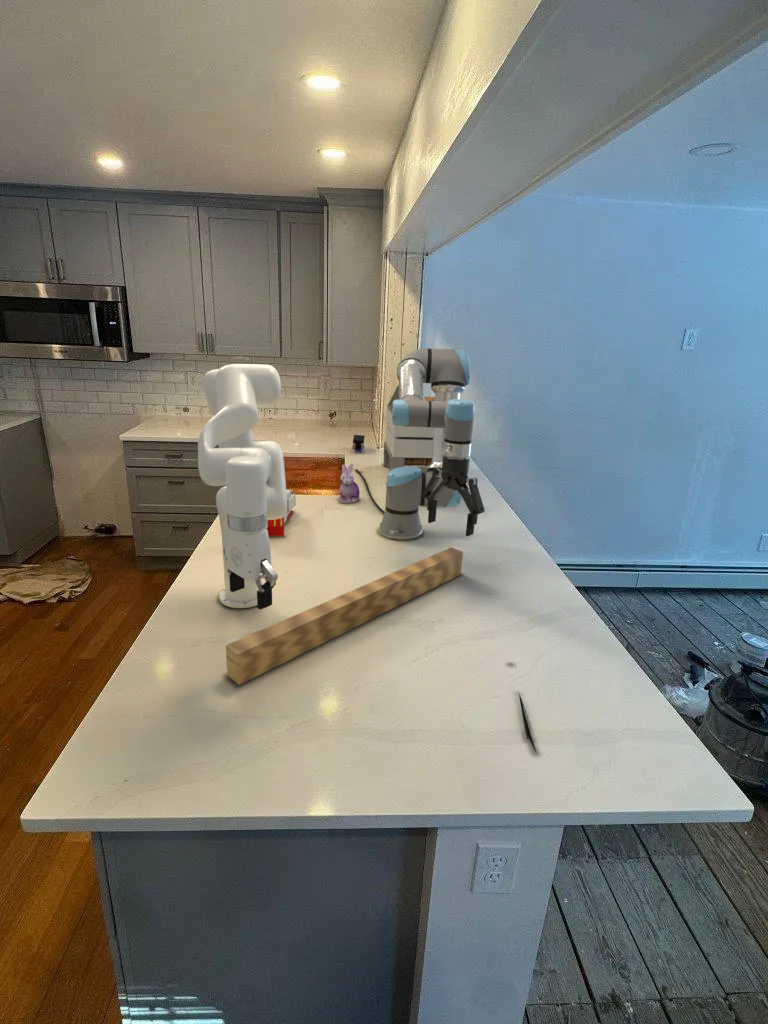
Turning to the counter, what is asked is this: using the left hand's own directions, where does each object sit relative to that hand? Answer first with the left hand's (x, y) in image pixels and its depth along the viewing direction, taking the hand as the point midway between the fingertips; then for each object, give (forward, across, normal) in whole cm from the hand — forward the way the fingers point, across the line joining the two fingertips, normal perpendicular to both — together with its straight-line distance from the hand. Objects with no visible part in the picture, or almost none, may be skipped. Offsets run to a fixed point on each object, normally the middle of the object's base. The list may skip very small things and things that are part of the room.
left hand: (250, 598), depth 116 cm
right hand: (+2, 0, +68) cm, 68 cm away
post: (+18, 0, +34) cm, 38 cm away
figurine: (+18, -70, +94) cm, 118 cm away
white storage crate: (+18, -78, +149) cm, 169 cm away
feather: (+18, +46, +32) cm, 59 cm away
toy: (+18, -69, +57) cm, 91 cm away
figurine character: (+18, -129, +156) cm, 203 cm away
